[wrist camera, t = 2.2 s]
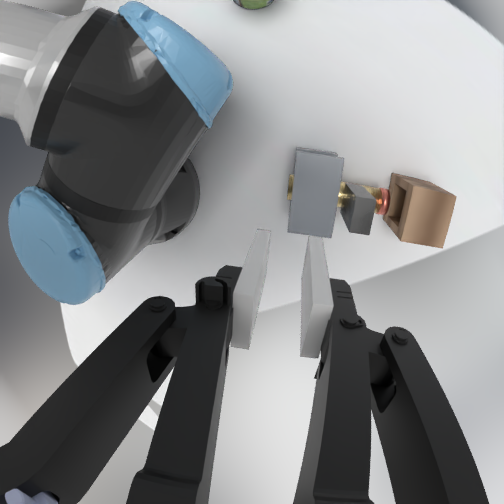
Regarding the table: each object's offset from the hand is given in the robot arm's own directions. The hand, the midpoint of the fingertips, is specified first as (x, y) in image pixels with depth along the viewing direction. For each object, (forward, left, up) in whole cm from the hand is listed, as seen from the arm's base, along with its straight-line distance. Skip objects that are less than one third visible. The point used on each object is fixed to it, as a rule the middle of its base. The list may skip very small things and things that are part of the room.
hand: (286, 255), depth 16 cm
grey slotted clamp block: (+3, 0, -22) cm, 23 cm away
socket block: (+16, 0, -22) cm, 28 cm away
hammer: (+5, 0, -20) cm, 21 cm away
